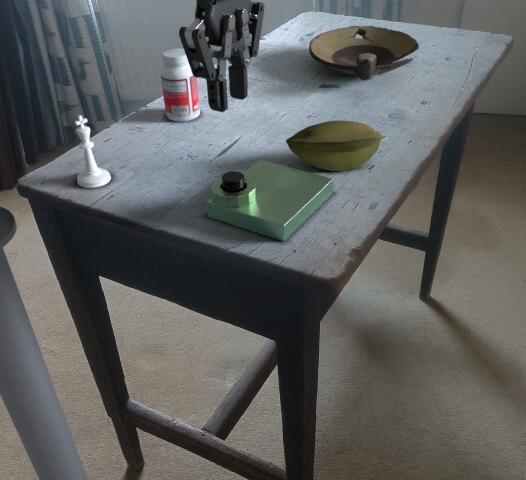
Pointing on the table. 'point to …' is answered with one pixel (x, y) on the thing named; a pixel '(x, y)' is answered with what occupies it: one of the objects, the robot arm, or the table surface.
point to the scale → (270, 199)
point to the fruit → (335, 144)
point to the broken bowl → (362, 50)
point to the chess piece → (89, 160)
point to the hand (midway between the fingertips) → (228, 103)
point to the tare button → (233, 181)
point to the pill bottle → (179, 86)
